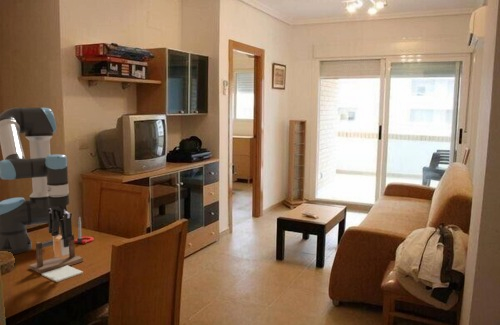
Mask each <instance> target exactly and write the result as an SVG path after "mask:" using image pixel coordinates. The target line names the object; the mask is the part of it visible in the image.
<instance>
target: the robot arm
mask: <svg viewBox="0 0 500 325" xmlns="http://www.w3.org/2000/svg"><path fill="white" fill-rule="evenodd" d="M56 132H57V123H56V118H55V114H54V111H53V110H52V109H51V108H49V107H40V106H39V107H11V108H9V109H6V110H4V111H3V112H1V113H0V147H1V148H0V149H1V154H2V160H0V179H1V180H5V181H6V180H13V181H14V180H19V179H20V180H21V179H30V178H31V184H32V193H31V194H30V195H29V199H27V200H26V199H25V198H24V197H21V196H19V197H11V198H7V199H4V200H1V201H0V251H8V252H11V253H13V255H18V254H22V253H25V252H28V251H30V250H31V249H32V248H33V245H32V244H33V243H32V240H31V237H30V236H29V234H28V231H27V229H28V228H27V226H33V225H34V226H35V225H42V224H48V233H49V234H51V236H52V240H53V245H52V246H53V248H52V249H53V250H52V251H54V239H53V237H56V236H60V235H61V236H62V238H60V239H61V253H62V256H64V255H67V254H69V238H71V237H72V234H73V226H72V224H73V223H72V214H73V213H72V212H68V209H67V205H70V195H69V193H70V191H69V188H70V187H69V176H68V175H69V174H68V172H69V170H68V168H69V167H68V164H69V162H68V157H67V155H65V154H51V139H52V138H53V137H54V135H53V134H54V133H56ZM20 134H24V135H25V136H24V137H25V139H27V140H28V141H29V142H28V143H29V154H30V158H26V157H25V156H26V155H25V152H24V149H23V146H22V145H23V144H22V141H21V137H20Z"/></svg>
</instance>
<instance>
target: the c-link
mask: <svg viewBox="0 0 500 325" xmlns="http://www.w3.org/2000/svg"><path fill="white" fill-rule="evenodd" d="M59 235H60V236H56V237H53V236H52V240H53V239H54V250H53V253H54V254H53V255H54V256H53V258H54V257H60V259H61V260H62V259H65V258H69V254H67V255H64V256H62V253H61V239H60V238H62V235H61V234H59Z"/></svg>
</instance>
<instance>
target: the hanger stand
mask: <svg viewBox="0 0 500 325" xmlns="http://www.w3.org/2000/svg"><path fill="white" fill-rule="evenodd" d="M74 240H75V234H74V233H72V237H71V238H69V258H65V259H62V260H61V259H60V257H54V256H53V257H51V258H47V259H45V260H44V258H43V256H44V255H43V248H47V247H50V246H53V239H51V240H47V241H44V242H41V241H37V242H35V251H36V262H35V263H32V264H28V268H29V269H30V270H31V271H34V272H36V273H38V274H41V275H42V273H45V272H48V271H51V270H55V269H58V268H61V267H64V266H67V265H68V266H70V267H71V266H72V265H76V264H79V263H81V262H84V257H81V256H79V255H77V254H75V253H76V251H75V243H74Z"/></svg>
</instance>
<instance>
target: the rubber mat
mask: <svg viewBox="0 0 500 325" xmlns="http://www.w3.org/2000/svg"><path fill="white" fill-rule="evenodd" d="M82 274H84V271H83V270H81V269H77V268H76V267H73V266H71V265H70V266H68V265H67V266H64V267H61V268H58V269H55V270H51V271H48V272H45V273H42V274H41V276H42V277H45V278H47V279H49V280H51V281H53V282H56V283H59V282H61V281H65V280H68V279H70V278H73V277H76V276H78V275H82Z"/></svg>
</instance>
